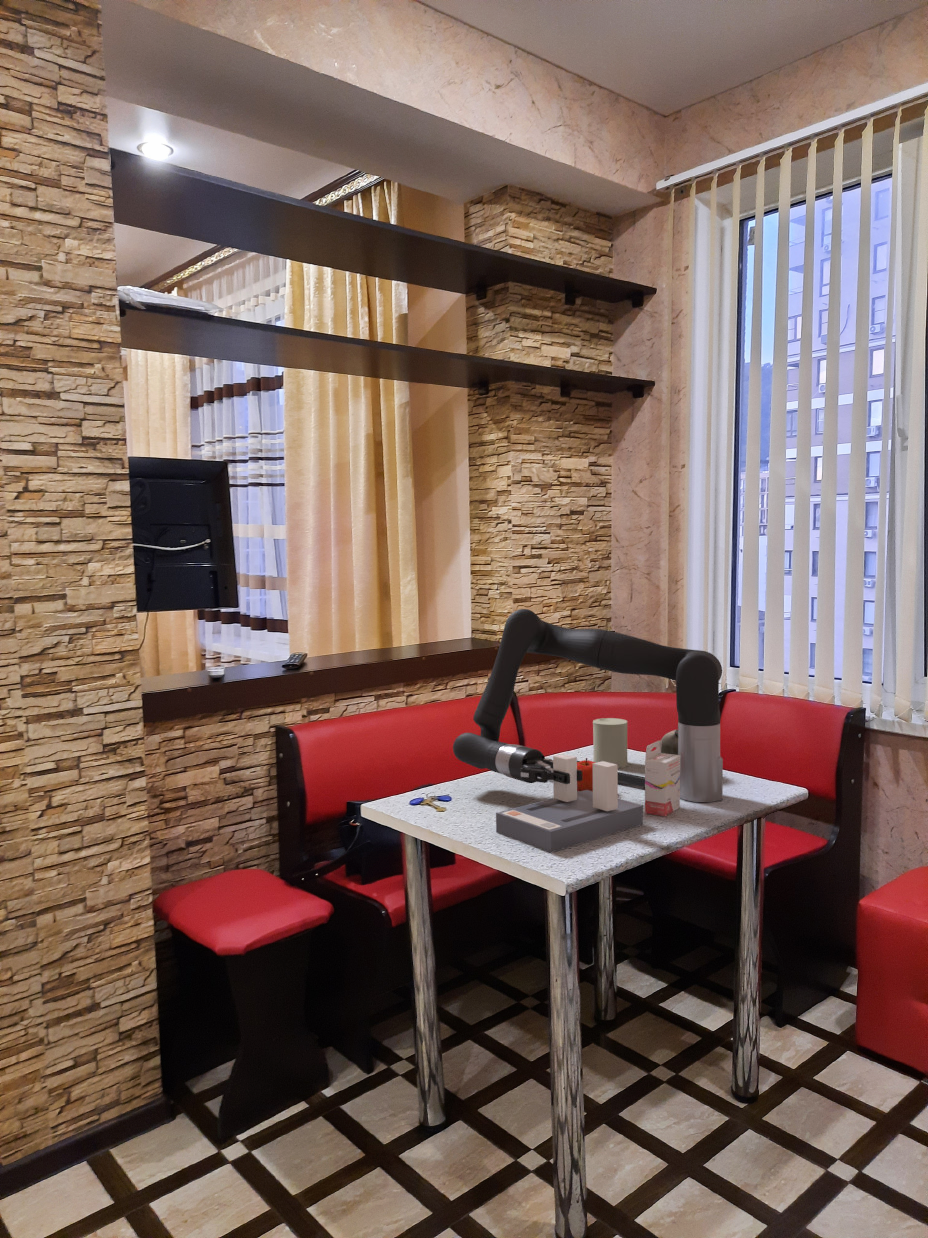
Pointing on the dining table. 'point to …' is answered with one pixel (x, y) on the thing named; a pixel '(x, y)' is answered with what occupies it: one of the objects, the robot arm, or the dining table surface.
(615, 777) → the switch tab
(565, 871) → the dining table surface
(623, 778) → the phone
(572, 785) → the switch tab
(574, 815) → the block
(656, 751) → the ink cartridge box
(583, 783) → the apple
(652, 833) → the dining table surface
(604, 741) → the can
